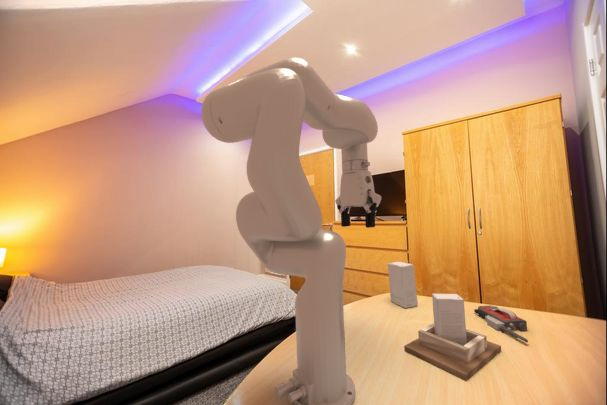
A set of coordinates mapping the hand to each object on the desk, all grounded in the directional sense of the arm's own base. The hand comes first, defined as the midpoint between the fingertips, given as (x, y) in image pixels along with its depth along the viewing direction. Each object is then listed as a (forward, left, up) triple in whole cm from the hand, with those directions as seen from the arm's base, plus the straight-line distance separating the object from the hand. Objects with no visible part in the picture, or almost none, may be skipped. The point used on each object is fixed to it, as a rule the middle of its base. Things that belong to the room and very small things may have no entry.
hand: (357, 226), depth 74 cm
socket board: (+10, -20, -30) cm, 38 cm away
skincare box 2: (+10, -20, -29) cm, 37 cm away
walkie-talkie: (+35, -23, -31) cm, 52 cm away
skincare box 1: (+28, +6, -31) cm, 42 cm away
